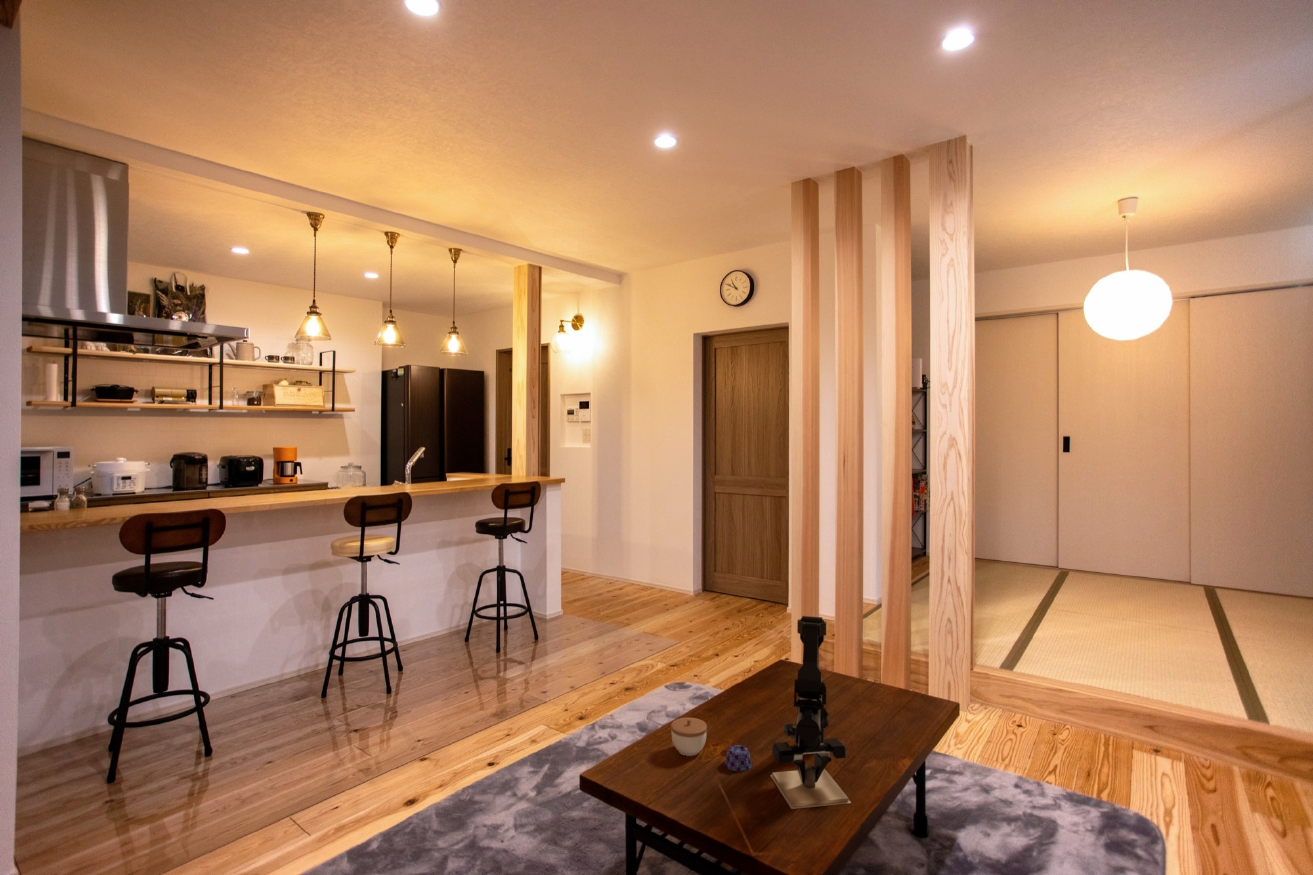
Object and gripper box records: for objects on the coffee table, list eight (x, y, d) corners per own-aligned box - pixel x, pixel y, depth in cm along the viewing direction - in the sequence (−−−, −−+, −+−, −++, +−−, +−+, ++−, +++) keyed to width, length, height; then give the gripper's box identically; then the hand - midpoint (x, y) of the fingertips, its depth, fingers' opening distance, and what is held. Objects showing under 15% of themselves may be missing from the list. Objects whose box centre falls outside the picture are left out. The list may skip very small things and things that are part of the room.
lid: (823, 770, 178) (823, 751, 178) (848, 801, 163) (848, 780, 163) (772, 775, 176) (772, 756, 176) (792, 806, 161) (792, 785, 161)
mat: (824, 772, 179) (824, 770, 179) (851, 805, 163) (851, 802, 163) (770, 777, 176) (770, 775, 176) (791, 810, 160) (791, 808, 160)
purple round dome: (757, 781, 174) (757, 762, 174) (713, 775, 178) (713, 756, 178) (761, 759, 186) (761, 742, 186) (720, 754, 189) (720, 736, 189)
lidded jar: (704, 761, 184) (704, 729, 184) (668, 757, 187) (668, 725, 186) (708, 744, 195) (709, 713, 195) (674, 740, 197) (674, 710, 197)
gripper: (829, 708, 179) (829, 763, 179) (765, 712, 176) (765, 769, 176) (847, 726, 168) (847, 785, 168) (779, 731, 165) (779, 791, 165)
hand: (809, 782), depth 169 cm, fingers closed on lid, 3 cm apart
